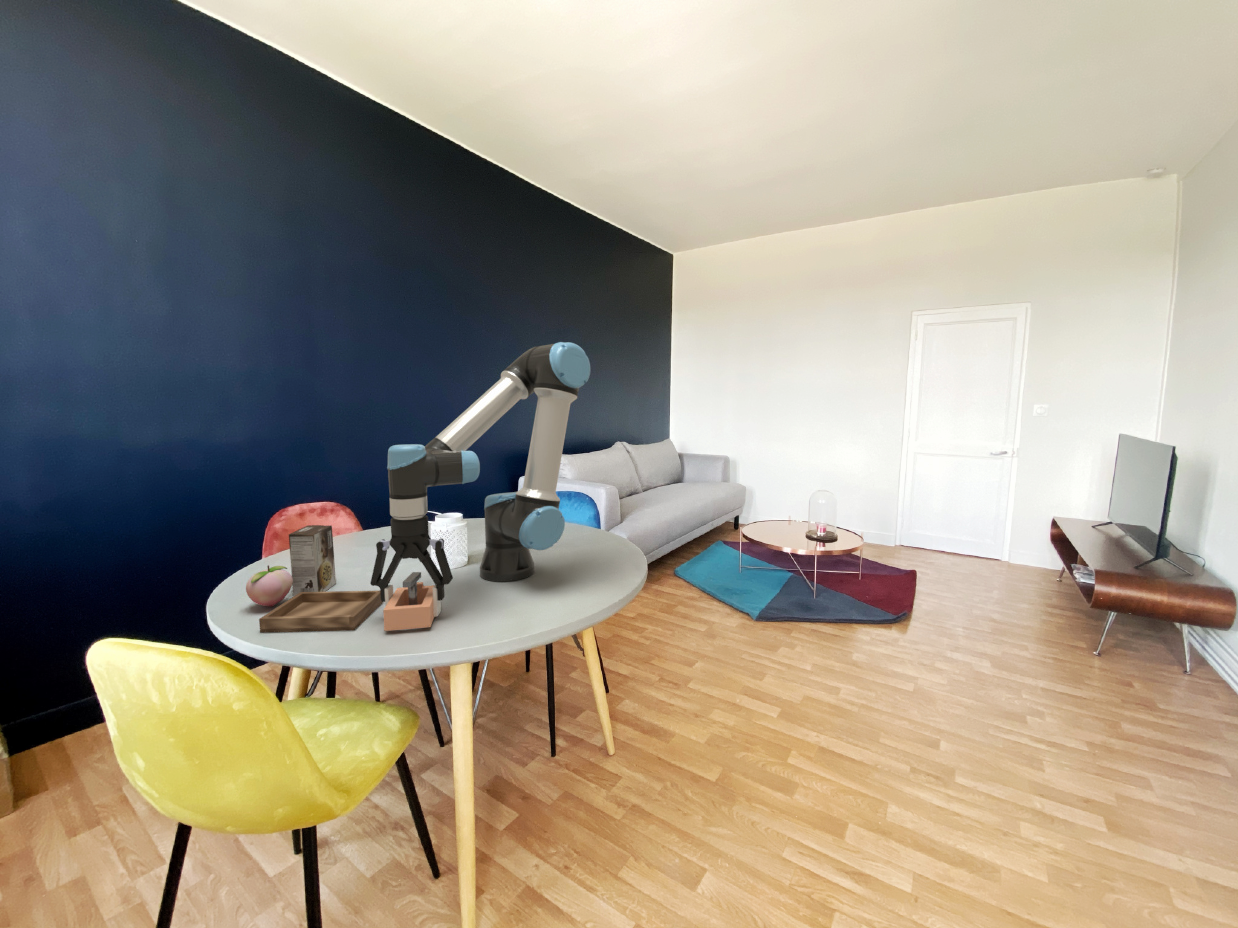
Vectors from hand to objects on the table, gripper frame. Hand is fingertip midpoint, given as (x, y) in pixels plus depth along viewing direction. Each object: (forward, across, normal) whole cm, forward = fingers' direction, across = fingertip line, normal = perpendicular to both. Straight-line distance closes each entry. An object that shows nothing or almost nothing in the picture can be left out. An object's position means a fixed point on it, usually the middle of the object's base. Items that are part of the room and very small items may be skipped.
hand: (413, 614), depth 109 cm
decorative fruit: (+1, +36, -9) cm, 37 cm away
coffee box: (+1, +31, -19) cm, 36 cm away
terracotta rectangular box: (0, 0, 0) cm, 0 cm away
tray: (+1, +20, -2) cm, 20 cm away
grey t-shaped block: (+1, 0, 0) cm, 1 cm away
